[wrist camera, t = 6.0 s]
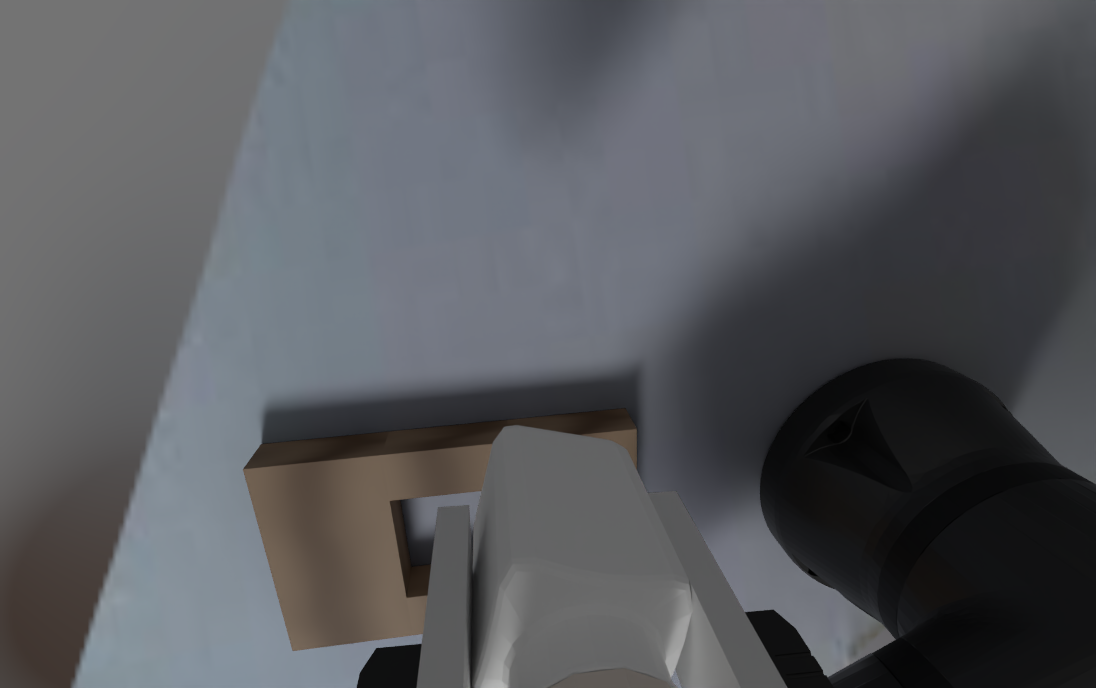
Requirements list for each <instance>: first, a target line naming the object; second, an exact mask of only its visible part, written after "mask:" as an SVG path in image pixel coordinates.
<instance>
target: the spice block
mask: <svg viewBox="0 0 1096 688" xmlns="http://www.w3.org/2000/svg"><path fill="white" fill-rule="evenodd" d="M513 425H520V426H526V427H532V428H538V429H544V430H551V431H557V432H563V433H569V434H576V435H582V436H588V437H594V438H600V439H606V440H611V441H613V442H615V443H617V444H619V445H621V446H622V447H624V448H625V449H627V451H628V453H629V455H630V457H631V459H632V461H633V463H634V466H635V468H636V470H637V428H636V427H635V425H634V423H633V421H632V419H631V417H630V416H629V414H628V412H627V410H626V408H622V409H612V410H602V411H592V412H581V413H571V414H561V415H551V416H541V417H531V418H521V419H511V420H500V421H490V422H480V423H470V424H460V425H450V426H440V427H430V428H419V429H409V430H399V431H389V432H379V433H369V434H359V435H349V436H338V437H328V438H318V439H308V440H298V441H288V442H278V443H267V444H261V445H260V447H259V448H258V449H257V451H256V452H255V453H254V455H253V456H252V458H251V459H250V460H249V462H248V463H247V465H246V466H245V467H244V469H243V471H244V475H245V478H246V482H247V486H248V489H249V493H250V497H251V500H252V504H253V508H254V511H255V515H256V519H257V522H258V526H259V530H260V533H261V537H262V541H263V544H264V548H265V552H266V555H267V559H268V563H269V566H270V570H271V573H272V577H273V581H274V584H275V588H276V592H277V595H278V599H279V603H280V606H281V610H282V614H283V617H284V621H285V625H286V628H287V632H288V636H289V639H290V643H291V647H292V650H293V651H297V650H304V649H312V648H319V647H327V646H334V645H342V644H350V643H357V642H365V641H372V640H380V639H388V638H395V637H403V636H410V635H418V634H423V630H424V621H425V613H426V604H427V596H428V588H429V579H430V571H431V564H430V565H422V566H414V567H411V561H410V555H409V549H408V543H407V537H406V531H405V525H404V519H403V513H402V507H401V501H400V500H402V499H411V498H420V497H429V496H438V495H448V494H457V493H466V492H475V491H482V487H483V483H484V478H485V474H486V470H487V465H488V461H489V457H490V452H491V448H492V444H493V441H494V440H495V439H496V437H497V436H498V435H499V433H500V432H501V431H502V429H503V428H504V427H506V426H513ZM472 564H473V559H472Z"/></svg>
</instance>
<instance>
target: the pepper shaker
mask: <svg viewBox="0 0 1096 688" xmlns="http://www.w3.org/2000/svg"><path fill="white" fill-rule="evenodd" d="M692 609H693V605H692V598H691V591H690V585H689V579H688V577H687V575H686V573H685V570H684V568H683V566H682V564H681V562H680V560H679V558H678V556H677V554H676V552H675V549H674V547H673V545H672V543H671V541H670V539H669V537H668V535H667V533H666V531H665V528H664V526H663V524H662V522H661V520H660V518H659V516H658V514H657V512H656V510H655V508H654V505H653V503H652V501H651V499H650V497H649V495H648V493H647V491H646V489H645V487H644V484H643V482H642V480H641V478H640V476H639V474H638V472H637V470H636V468H635V466H634V463H633V461H632V459H631V457H630V455H629V453H628V451H627V449H625V448H624V447H622V446H621V445H619V444H617V443H615V442H613V441H611V440H606V439H600V438H594V437H588V436H582V435H576V434H569V433H563V432H557V431H551V430H544V429H538V428H532V427H526V426H520V425H513V426H506V427H504V428H503V429H502V431H501V432H500V433H499V435H498V436H497V437H496V439H495V440H494V441H493V444H492V448H491V452H490V457H489V461H488V465H487V470H486V474H485V478H484V483H483V487H482V492H481V496H480V500H479V505H478V509H477V513H476V518H475V522H474V531H473V607H472V660H471V688H678V687H677V686H676V685H674V684H673V682H672V680H671V677H672V675H673V672H674V670H675V668H676V665H677V662H678V659H679V656H680V654H681V651H682V648H683V645H684V642H685V638H686V634H687V630H688V626H689V622H690V618H691V614H692Z"/></svg>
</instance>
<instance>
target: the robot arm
mask: <svg viewBox="0 0 1096 688" xmlns="http://www.w3.org/2000/svg"><path fill="white" fill-rule="evenodd" d="M648 495H649V497H650V499H651V501H652V503H653V505H654V508H655V510H656V512H657V514H658V516H659V518H660V520H661V522H662V524H663V526H664V528H665V531H666V533H667V535H668V537H669V539H670V541H671V543H672V545H673V547H674V549H675V552H676V554H677V556H678V558H679V560H680V562H681V564H682V566H683V568H684V570H685V573H686V575H687V577H688V579H689V585H690V591H691V598H692V605H693V609H692V614H691V618H690V622H689V626H688V630H687V634H686V638H685V642H684V645H683V648H682V651H681V654H680V656H679V659H678V662H677V665H676V668H675V670H676V672H677V675H678V678H679V680H680V683H681V686H682V688H1096V484H1094V483H1092V482H1091V481H1089V480H1087V479H1085V478H1083V477H1082V476H1080V475H1078V474H1076V473H1074V472H1073V471H1071V470H1069V469H1067V468H1066V467H1064V466H1062V465H1061V464H1060V463H1059V462H1058V461H1057V460H1056V459H1055V458H1054V457H1053V456H1052V455H1051V454H1050V453H1049V452H1048V451H1047V450H1046V449H1045V448H1044V447H1043V446H1042V445H1041V444H1040V443H1039V442H1038V441H1037V440H1036V439H1035V438H1034V437H1033V436H1032V435H1031V434H1030V433H1029V432H1028V431H1027V430H1026V429H1025V428H1024V427H1023V426H1022V425H1021V424H1020V423H1019V422H1018V421H1017V420H1016V419H1015V418H1014V417H1013V416H1012V414H1011V413H1010V412H1009V411H1008V410H1007V408H1006V407H1005V406H1004V404H1003V403H1002V402H1001V401H1000V399H999V398H998V397H997V396H996V395H995V394H993V393H992V392H991V391H990V390H988V389H987V388H985V387H984V386H983V385H981V384H979V383H978V382H976V381H974V380H972V379H970V378H968V377H966V376H964V375H962V374H960V373H958V372H955V371H953V370H951V369H949V368H947V367H945V366H943V365H940V364H937V363H934V362H930V361H925V360H918V359H893V360H885V361H881V362H876V363H872V364H868V365H865V366H862V367H860V368H857V369H854V370H852V371H850V372H848V373H845V374H843V375H841V376H839V377H838V378H836V379H834V380H832V381H831V382H829V383H828V384H826V385H825V386H823V387H822V388H820V389H819V390H818V391H816V392H815V393H814V394H813V395H811V396H810V397H809V398H808V399H807V400H806V401H805V402H804V403H802V404H801V405H800V406H799V407H798V409H797V410H796V411H795V412H794V413H793V414H792V415H791V416H790V418H789V419H788V420H787V421H786V423H785V424H784V426H783V427H782V428H781V430H780V431H779V433H778V435H777V436H776V438H775V440H774V442H773V444H772V446H771V448H770V450H769V452H768V455H767V458H766V461H765V464H764V467H763V472H762V477H761V484H760V500H761V507H762V512H763V515H764V518H765V521H766V523H767V526H768V528H769V530H770V531H771V533H772V534H773V536H774V537H775V539H776V540H777V541H778V543H779V544H780V545H781V547H782V548H783V549H784V551H785V552H786V553H787V555H788V556H789V557H790V558H791V560H792V561H793V562H794V563H795V564H796V565H797V566H798V567H799V568H800V569H801V570H802V571H804V572H805V573H806V574H807V575H809V576H810V577H812V578H813V579H815V580H816V581H818V582H820V583H822V584H824V585H826V586H828V587H830V588H833V589H836V590H837V591H839V592H840V593H841V594H842V595H843V596H844V597H845V598H846V599H847V600H849V601H850V602H851V603H853V604H854V605H855V606H857V607H858V608H860V609H861V610H863V611H864V612H866V613H867V614H869V615H870V616H872V617H873V618H875V619H876V620H878V621H879V622H881V623H882V624H883V625H884V626H885V627H886V628H887V630H888V631H889V632H890V633H891V634H892V636H893V637H894V638H895V639H896V640H895V641H893V642H892V643H889V644H888V645H886V646H884V647H882V648H881V649H879V650H877V651H875V652H874V653H872V654H871V653H870V654H868V655H867V656H865V657H863V658H861V659H860V660H858V661H856V662H854V663H852V664H851V665H849V666H847V667H845V668H844V669H842V670H840V671H838V672H837V673H835V674H833V675H831V676H829V677H828V678H827V676H826V675H824V674H823V670H822V668H821V667H820V665H819V664H818V662H817V661H816V659H815V658H814V656H811V651H810V650H809V648H808V647H807V645H806V644H805V642H804V641H803V639H802V638H801V636H800V635H799V633H798V631H797V630H796V628H794V627H793V626H792V625H791V624H790V623H788V622H787V621H786V620H785V619H784V618H783V617H781V616H780V615H779V614H778V613H777V612H776V611H774V610H764V611H754V612H744V610H743V608H742V607H741V605H740V603H739V601H738V599H737V598H736V596H735V594H734V592H733V591H732V589H731V587H730V585H729V584H728V582H727V580H726V578H725V576H724V575H723V573H722V571H721V569H720V568H719V566H718V564H717V562H716V561H715V559H714V557H713V555H712V553H711V552H710V550H709V548H708V546H707V545H706V543H705V541H704V539H703V537H702V536H701V534H700V532H699V530H698V529H697V527H696V525H695V523H694V522H693V520H692V518H691V516H690V514H689V513H688V511H687V509H686V507H685V506H684V504H683V502H682V500H681V499H680V497H679V495H678V493H677V491H669V492H654V493H648ZM472 607H473V564H472V547H471V529H470V512H469V505H464V506H450V507H438V512H437V520H436V529H435V537H434V545H433V554H432V562H431V571H430V579H429V588H428V596H427V604H426V613H425V621H424V630H423V638H422V644H416V645H405V646H395V647H384V648H376V650H375V651H374V653H373V654H372V656H371V657H370V658H369V660H368V661H367V663H366V664H365V666H364V667H363V669H362V670H361V672H360V675H359V680H358V684H357V688H471V660H472Z"/></svg>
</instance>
